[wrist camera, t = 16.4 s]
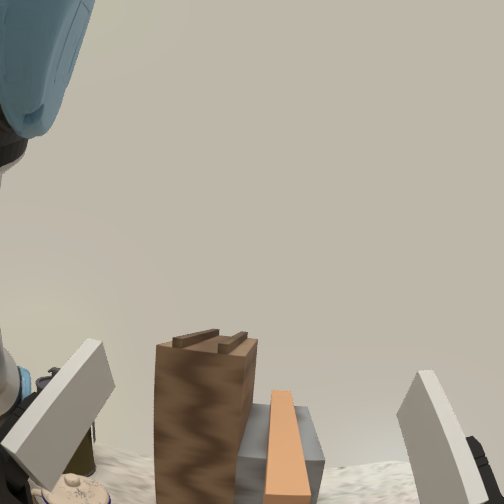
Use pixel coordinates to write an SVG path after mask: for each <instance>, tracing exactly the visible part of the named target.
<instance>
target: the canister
mask: <svg viewBox="0 0 504 504" xmlns="http://www.w3.org/2000/svg"><path fill="white" fill-rule="evenodd" d="M60 369H61V368H56V367H54V368H51V369H50V370H49V371H48V372H51V371H52V376H46V377H40V378H38V379H37V380H36V386H37V393H39V394H40V393H41V392H42V390H43V389H44V388H45V387H46V386H47V384H48V383H49V382H50V381H51V380H52V379H53V377H54V376H55V375H56V374H57V373H58V372H59V370H60ZM92 426H93V439H94V443H95V427H94V421H93V423H92ZM95 468H96V466H95V463H94V457H93V448H92V438H91V426H90V428H89V430H88V431H87V433H86V434H85V436H84V438H83V439H82V441H81V443H80V444H79V446H78V448H77V449H76V451H75V453H74V454H73V456H72V458H71V459H70V461H69V463H68V464H67V466H66V468H65V470H64V471H63V473H62V474H68V473H72V474H75V475H80V476H84V477H88V476H90V475H91V474H93V473H94V471H95Z"/></svg>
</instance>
